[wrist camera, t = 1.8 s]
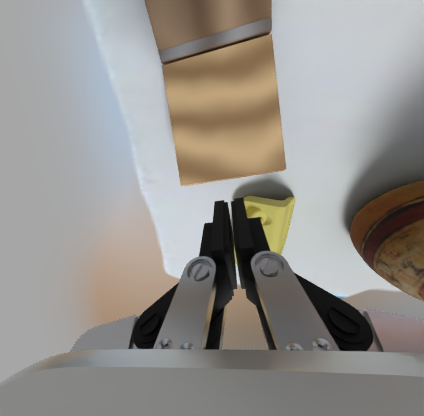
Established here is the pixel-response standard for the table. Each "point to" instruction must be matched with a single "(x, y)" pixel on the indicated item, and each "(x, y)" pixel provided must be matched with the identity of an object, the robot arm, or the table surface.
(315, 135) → the table surface
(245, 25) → the walnut board
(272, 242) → the plastic component
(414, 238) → the ceramic pitcher
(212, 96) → the oak plank
